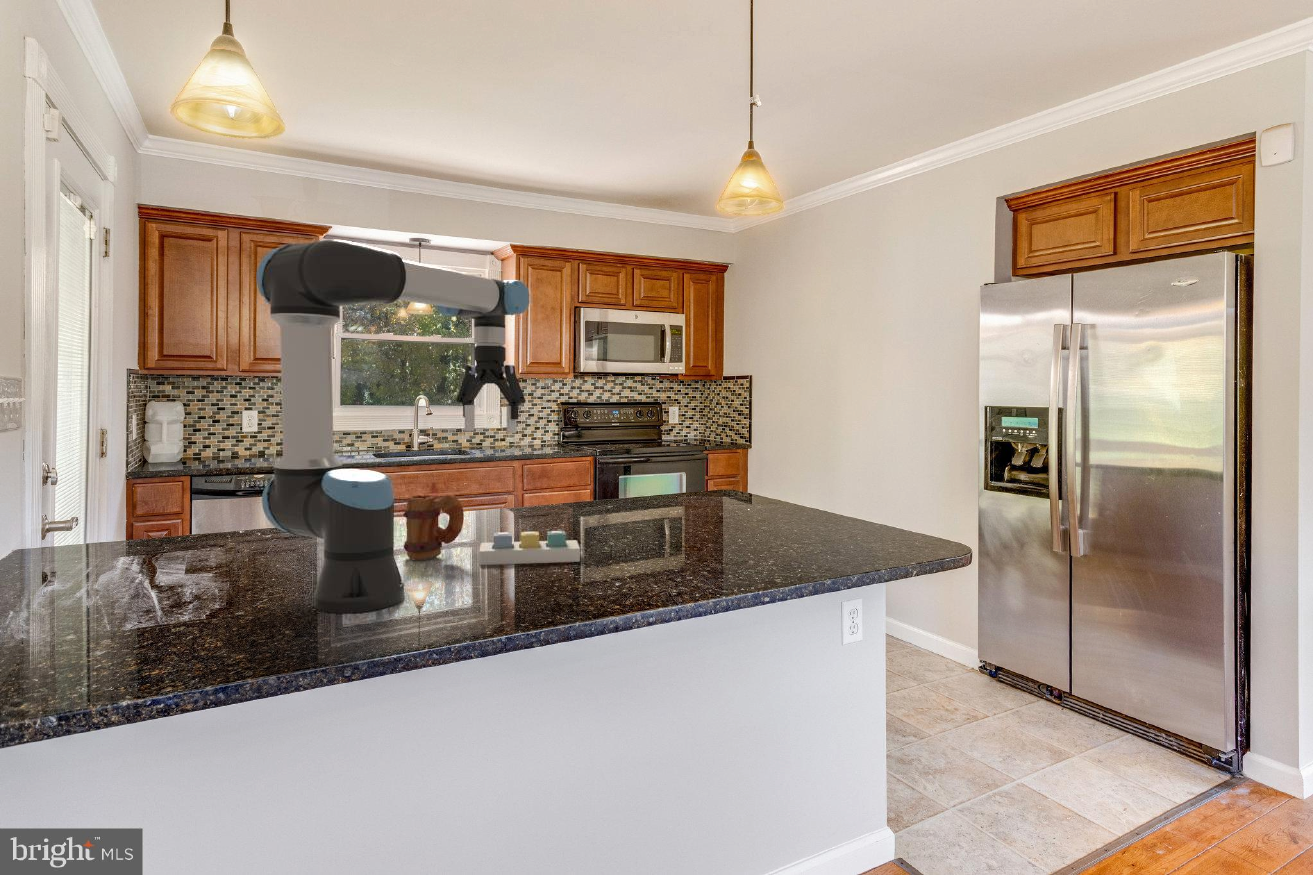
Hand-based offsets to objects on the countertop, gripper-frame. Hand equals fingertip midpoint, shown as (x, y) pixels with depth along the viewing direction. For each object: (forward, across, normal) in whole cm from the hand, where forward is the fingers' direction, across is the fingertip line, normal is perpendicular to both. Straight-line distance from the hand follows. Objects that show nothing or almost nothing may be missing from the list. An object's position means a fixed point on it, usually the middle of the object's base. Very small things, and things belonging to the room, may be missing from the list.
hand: (490, 432), depth 178 cm
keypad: (+28, -18, +7) cm, 34 cm away
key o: (+25, -14, +11) cm, 31 cm away
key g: (+25, -23, +3) cm, 34 cm away
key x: (+25, -18, +7) cm, 32 cm away
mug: (+28, 0, +19) cm, 34 cm away
